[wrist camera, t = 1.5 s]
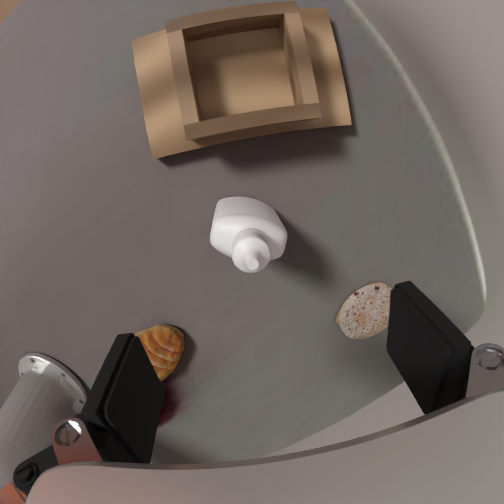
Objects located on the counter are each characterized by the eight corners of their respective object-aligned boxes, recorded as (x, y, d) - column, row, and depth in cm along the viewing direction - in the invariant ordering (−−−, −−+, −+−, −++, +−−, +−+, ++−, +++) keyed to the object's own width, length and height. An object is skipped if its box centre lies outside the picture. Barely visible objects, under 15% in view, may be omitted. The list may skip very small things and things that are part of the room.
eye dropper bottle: (237, 177, 27) (240, 204, 16) (282, 215, 29) (312, 265, 18) (207, 213, 29) (190, 262, 17) (252, 249, 30) (263, 315, 19)
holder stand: (346, 125, 26) (367, 123, 21) (157, 158, 26) (141, 162, 22) (322, 13, 22) (337, -6, 17) (136, 43, 22) (118, 28, 17)
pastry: (154, 306, 32) (146, 325, 28) (200, 341, 34) (198, 362, 30) (114, 349, 34) (105, 369, 30) (156, 379, 36) (150, 399, 32)
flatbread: (394, 272, 32) (398, 276, 31) (397, 322, 35) (400, 327, 34) (330, 295, 33) (332, 299, 32) (339, 344, 35) (342, 349, 35)
